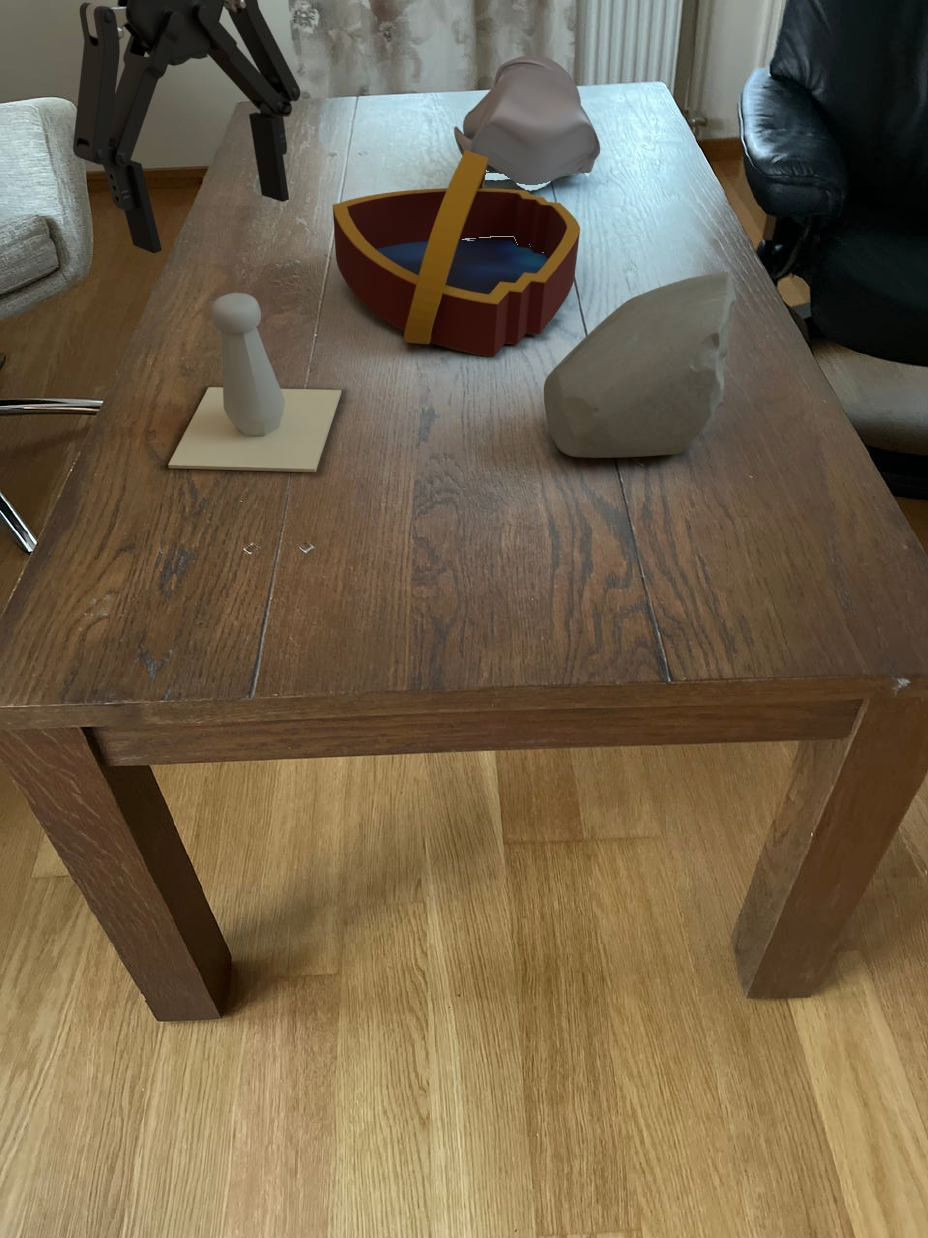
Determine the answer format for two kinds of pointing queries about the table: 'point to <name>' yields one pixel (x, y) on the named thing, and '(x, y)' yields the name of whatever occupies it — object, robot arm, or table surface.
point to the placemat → (281, 450)
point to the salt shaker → (246, 367)
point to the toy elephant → (531, 124)
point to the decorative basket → (459, 260)
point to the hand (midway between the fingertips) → (214, 221)
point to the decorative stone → (644, 373)
